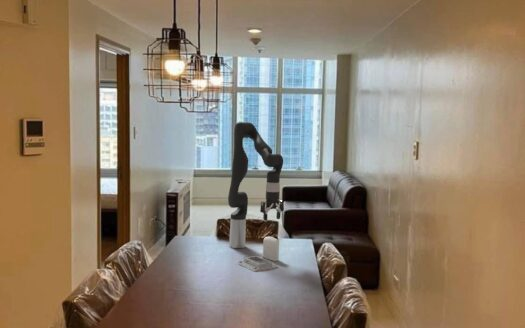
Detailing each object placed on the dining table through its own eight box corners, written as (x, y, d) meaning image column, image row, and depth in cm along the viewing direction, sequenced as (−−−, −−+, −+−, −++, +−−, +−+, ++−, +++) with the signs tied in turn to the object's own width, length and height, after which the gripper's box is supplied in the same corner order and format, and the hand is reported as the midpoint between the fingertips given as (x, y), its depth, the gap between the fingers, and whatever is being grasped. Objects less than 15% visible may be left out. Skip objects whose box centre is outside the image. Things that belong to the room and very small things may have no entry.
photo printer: (261, 257, 278) (262, 235, 277) (267, 256, 280) (268, 234, 279) (273, 261, 270) (274, 239, 269) (279, 260, 272) (280, 238, 271)
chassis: (237, 263, 264) (237, 258, 264) (260, 259, 272) (260, 254, 272) (254, 271, 251) (254, 265, 250) (278, 267, 259) (278, 261, 259)
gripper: (279, 188, 279) (278, 217, 280) (258, 190, 271) (257, 219, 272) (287, 190, 273) (286, 219, 274) (266, 192, 265) (265, 222, 266)
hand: (271, 219), depth 273 cm, fingers open, 8 cm apart
